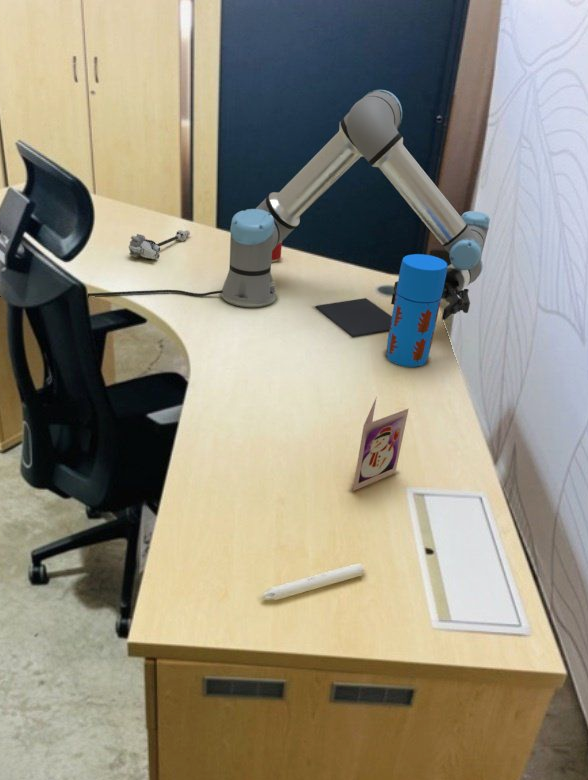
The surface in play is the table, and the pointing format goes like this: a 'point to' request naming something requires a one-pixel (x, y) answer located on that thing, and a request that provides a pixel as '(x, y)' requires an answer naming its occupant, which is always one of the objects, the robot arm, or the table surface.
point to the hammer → (151, 245)
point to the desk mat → (357, 316)
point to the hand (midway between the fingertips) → (418, 306)
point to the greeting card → (379, 447)
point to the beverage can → (276, 253)
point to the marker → (313, 582)
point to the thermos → (415, 309)
